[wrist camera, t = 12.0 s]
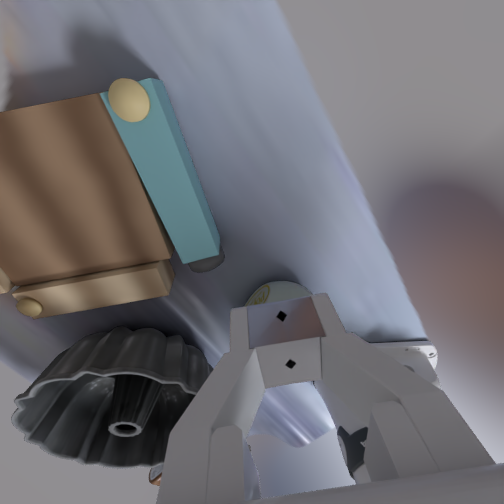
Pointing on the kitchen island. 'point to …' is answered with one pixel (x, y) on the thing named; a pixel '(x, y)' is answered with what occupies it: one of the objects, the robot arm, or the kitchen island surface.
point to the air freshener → (277, 292)
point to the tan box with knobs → (75, 213)
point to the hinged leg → (165, 168)
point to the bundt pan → (112, 398)
